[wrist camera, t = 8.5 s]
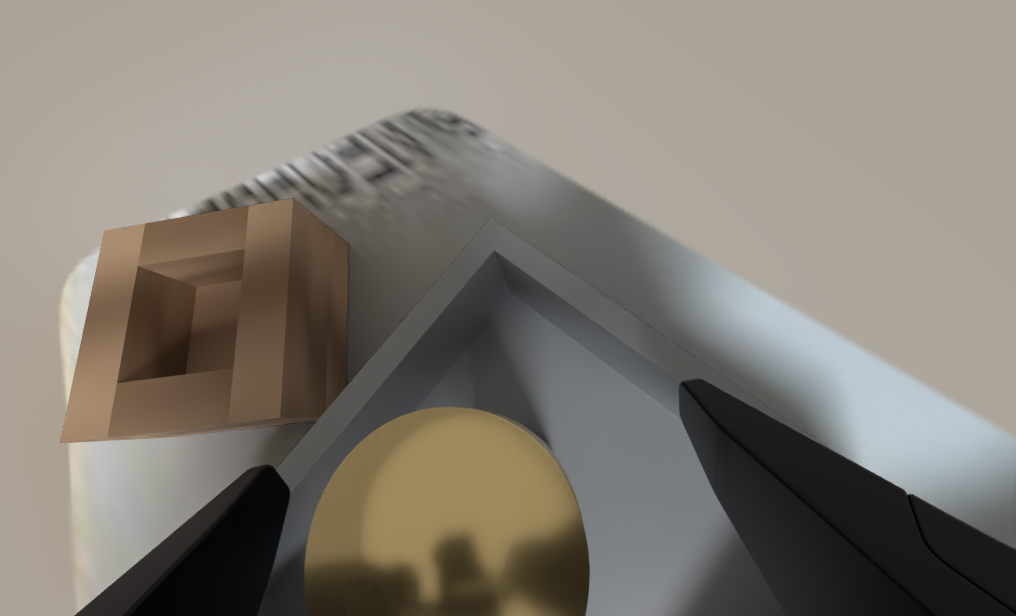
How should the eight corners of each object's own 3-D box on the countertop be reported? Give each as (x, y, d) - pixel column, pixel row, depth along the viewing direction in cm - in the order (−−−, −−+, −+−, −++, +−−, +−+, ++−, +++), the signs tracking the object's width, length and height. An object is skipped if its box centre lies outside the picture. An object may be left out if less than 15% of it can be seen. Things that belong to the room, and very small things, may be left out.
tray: (886, 544, 13) (1084, 622, 8) (596, 1040, 11) (627, 1553, 6) (510, 273, 17) (490, 217, 12) (249, 589, 15) (102, 672, 10)
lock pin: (577, 520, 13) (615, 737, 4) (470, 529, 14) (296, 748, 5) (561, 408, 15) (565, 392, 5) (463, 419, 15) (310, 421, 6)
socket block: (346, 417, 16) (280, 417, 12) (172, 436, 17) (59, 443, 13) (348, 243, 18) (293, 197, 15) (195, 267, 19) (104, 230, 15)
